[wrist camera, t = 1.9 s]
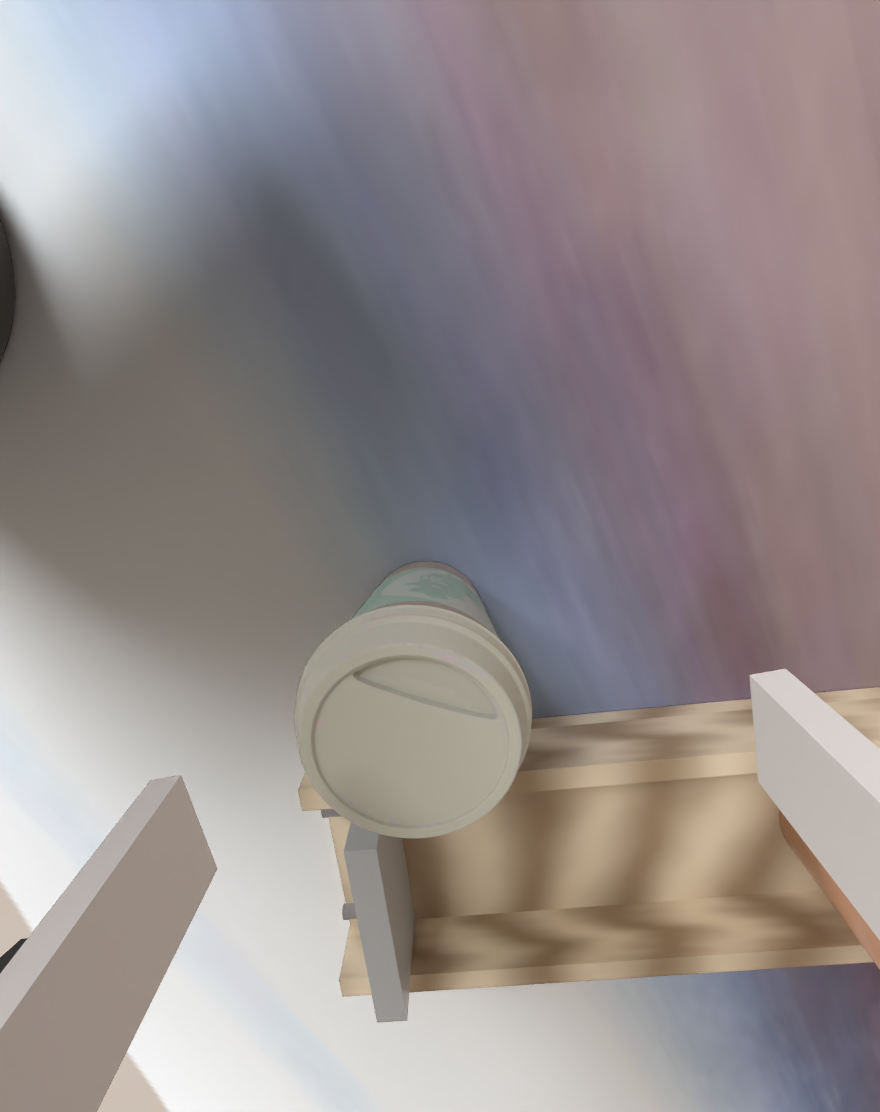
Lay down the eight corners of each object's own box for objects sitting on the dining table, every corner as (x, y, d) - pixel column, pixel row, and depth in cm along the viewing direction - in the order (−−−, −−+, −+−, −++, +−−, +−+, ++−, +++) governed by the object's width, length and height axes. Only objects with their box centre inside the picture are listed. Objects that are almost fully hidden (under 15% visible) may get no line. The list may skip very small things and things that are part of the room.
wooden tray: (355, 925, 37) (337, 1024, 31) (318, 738, 33) (289, 811, 28) (939, 883, 35) (1035, 981, 29) (967, 679, 31) (1082, 745, 26)
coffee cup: (541, 622, 31) (591, 762, 20) (418, 714, 33) (397, 892, 21) (435, 499, 29) (423, 573, 18) (312, 603, 31) (227, 730, 20)
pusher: (351, 921, 35) (331, 1025, 30) (321, 772, 33) (292, 856, 27) (415, 916, 35) (406, 1020, 29) (390, 766, 32) (376, 849, 27)
